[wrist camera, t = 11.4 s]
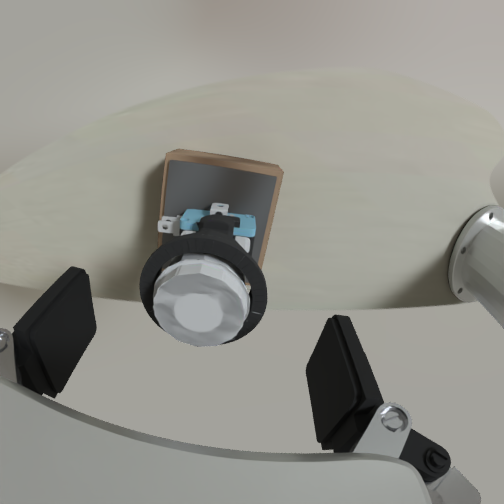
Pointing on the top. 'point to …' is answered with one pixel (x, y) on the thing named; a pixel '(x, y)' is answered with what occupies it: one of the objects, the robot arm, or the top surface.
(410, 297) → the top surface
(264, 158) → the top surface
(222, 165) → the stand
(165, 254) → the push button
